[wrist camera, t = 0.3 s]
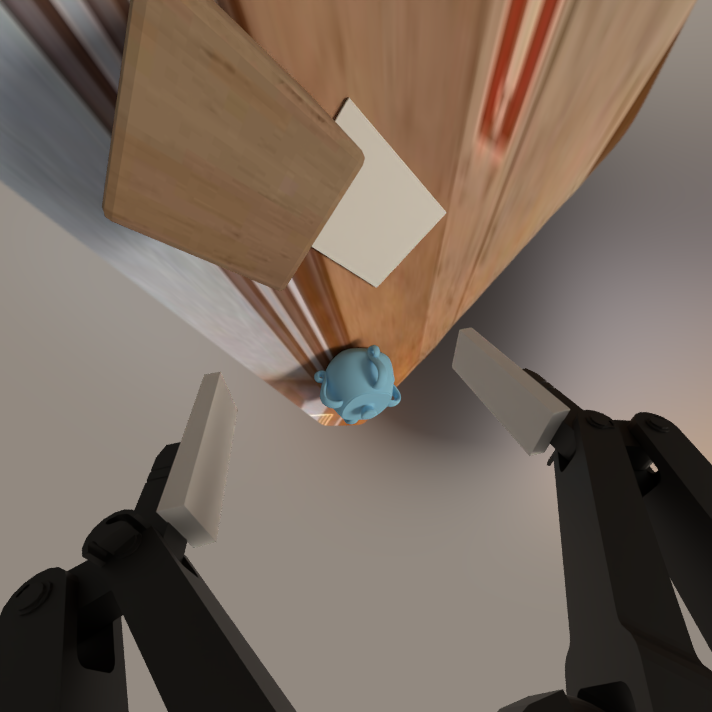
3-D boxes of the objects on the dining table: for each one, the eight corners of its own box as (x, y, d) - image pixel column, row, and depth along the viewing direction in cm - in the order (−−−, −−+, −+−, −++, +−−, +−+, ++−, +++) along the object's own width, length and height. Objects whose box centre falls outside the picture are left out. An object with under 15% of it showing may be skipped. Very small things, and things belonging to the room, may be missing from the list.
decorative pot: (391, 369, 68) (411, 417, 60) (332, 392, 69) (344, 442, 60) (378, 328, 55) (402, 382, 47) (306, 357, 56) (317, 414, 48)
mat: (348, 97, 27) (349, 97, 27) (445, 211, 39) (446, 212, 39) (274, 222, 34) (275, 223, 34) (375, 286, 46) (376, 287, 46)
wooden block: (268, 191, 32) (283, 295, 19) (167, 126, 25) (97, 219, 13) (313, 97, 26) (371, 159, 14) (200, -12, 20) (135, -66, 8)
